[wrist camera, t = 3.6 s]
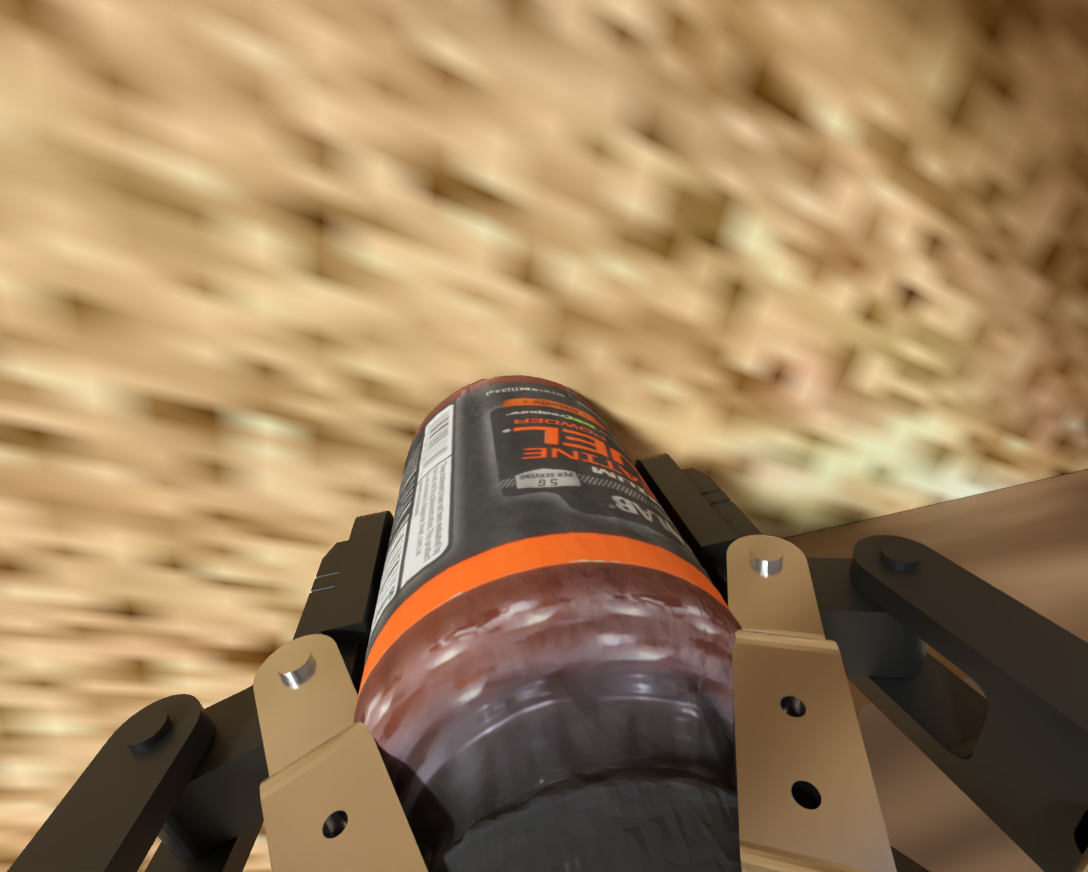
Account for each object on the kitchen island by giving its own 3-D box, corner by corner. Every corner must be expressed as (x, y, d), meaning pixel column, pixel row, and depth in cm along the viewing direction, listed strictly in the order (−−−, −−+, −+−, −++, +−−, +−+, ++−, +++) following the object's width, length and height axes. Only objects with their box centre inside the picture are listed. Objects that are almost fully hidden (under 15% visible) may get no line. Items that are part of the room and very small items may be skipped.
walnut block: (735, 549, 17) (860, 705, 12) (1097, 467, 19) (1358, 576, 13) (727, 810, 24) (804, 982, 19) (990, 739, 26) (1132, 882, 20)
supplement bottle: (646, 410, 15) (1081, 888, 4) (559, 568, 17) (725, 1152, 6) (448, 332, 13) (425, 840, 3) (376, 520, 15) (206, 1228, 5)
